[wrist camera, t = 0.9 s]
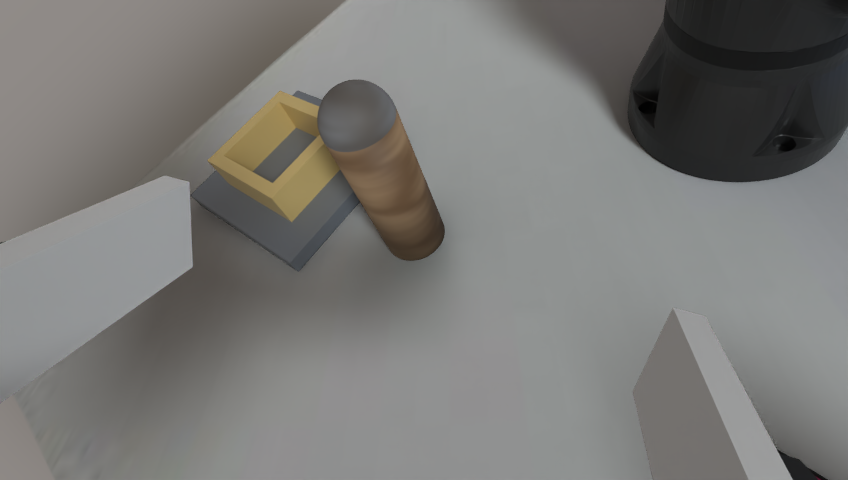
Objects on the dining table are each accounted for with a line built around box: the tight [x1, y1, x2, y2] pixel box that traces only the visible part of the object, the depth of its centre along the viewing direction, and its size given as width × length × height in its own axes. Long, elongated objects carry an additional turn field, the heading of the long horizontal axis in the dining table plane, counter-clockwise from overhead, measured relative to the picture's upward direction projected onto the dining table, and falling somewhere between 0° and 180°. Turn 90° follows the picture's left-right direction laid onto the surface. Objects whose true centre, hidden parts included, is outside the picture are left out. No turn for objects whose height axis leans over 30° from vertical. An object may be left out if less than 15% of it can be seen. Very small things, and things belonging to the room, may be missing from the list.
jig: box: [190, 91, 360, 271], centre depth 47 cm, size 16×16×5 cm
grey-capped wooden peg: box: [317, 80, 445, 261], centre depth 35 cm, size 5×5×16 cm
